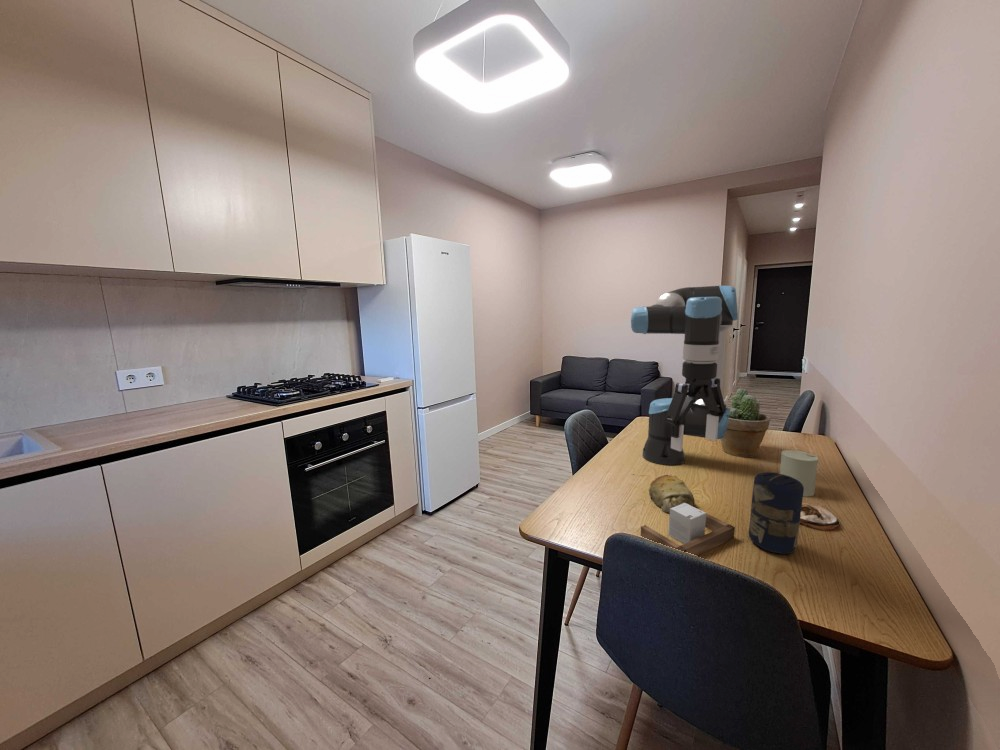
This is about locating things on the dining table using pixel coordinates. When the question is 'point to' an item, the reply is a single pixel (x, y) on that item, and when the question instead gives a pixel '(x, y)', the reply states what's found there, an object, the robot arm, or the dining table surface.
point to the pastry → (670, 492)
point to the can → (800, 468)
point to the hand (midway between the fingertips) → (694, 444)
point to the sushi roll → (817, 517)
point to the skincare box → (686, 523)
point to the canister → (775, 512)
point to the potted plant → (744, 426)
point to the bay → (702, 544)
